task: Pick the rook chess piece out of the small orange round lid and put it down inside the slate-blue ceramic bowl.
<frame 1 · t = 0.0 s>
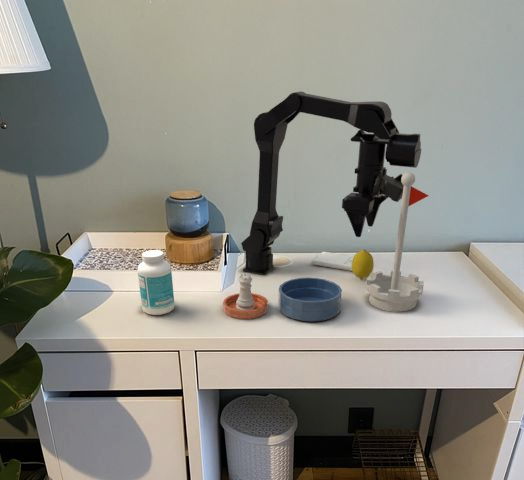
hand: (364, 231, 132), 15 cm above the table, tool pointing down, fingers open, 9 cm apart
hard drive: (339, 264, 154), on the table
orange round lid: (245, 309, 128), on the table
bowl: (309, 309, 129), on the table
rook chess piece: (245, 308, 128), resting on orange round lid
pill bottle: (158, 309, 128), on the table
flag stand: (392, 302, 133), on the table
lemon: (361, 280, 145), on the table
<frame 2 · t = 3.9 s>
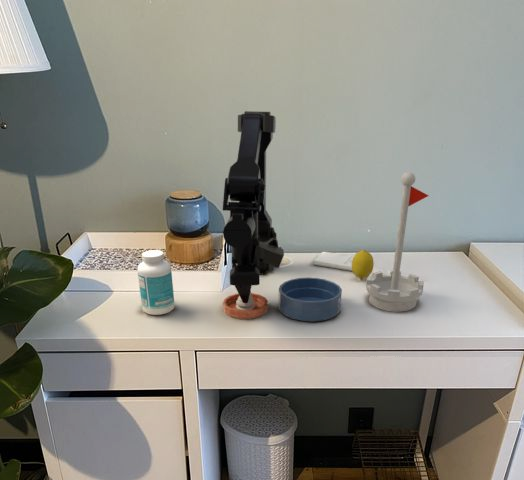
hand: (245, 299, 127), 3 cm above the table, tool pointing down, fingers closed on rook chess piece, 3 cm apart
rook chess piece: (245, 308, 128), resting on orange round lid, touching gripper
everything else where it was.
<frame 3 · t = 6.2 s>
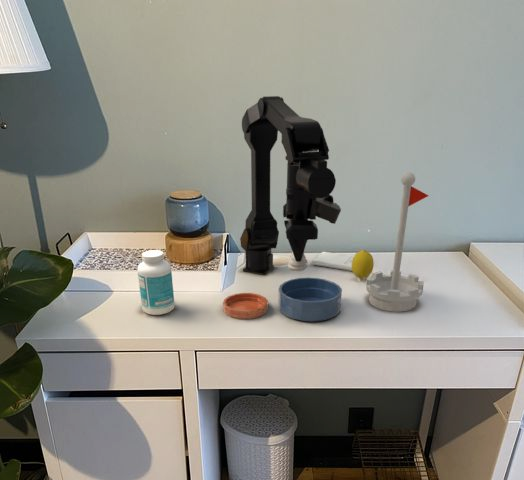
hand: (297, 258, 123), 12 cm above the table, tool pointing down, fingers closed on rook chess piece, 3 cm apart
rook chess piece: (297, 268, 124), point 10 cm above the table, touching gripper
everything else where it was.
when the fingers open (3 cm above the table, at t = 9.0 s): rook chess piece stays where it is, resting on bowl.
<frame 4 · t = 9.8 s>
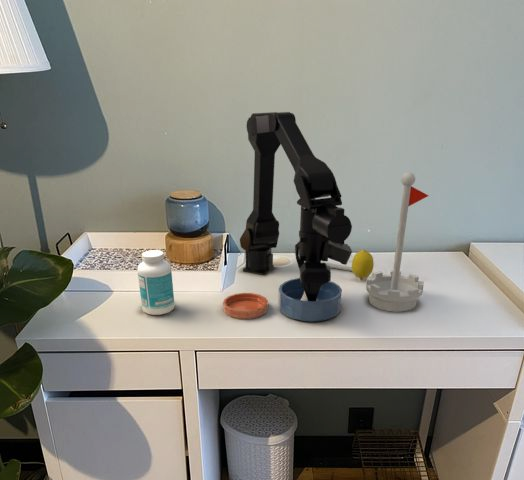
hand: (310, 296, 127), 3 cm above the table, tool pointing down, fingers open, 9 cm apart
rook chess piece: (309, 307, 129), resting on bowl
everything else where it was.
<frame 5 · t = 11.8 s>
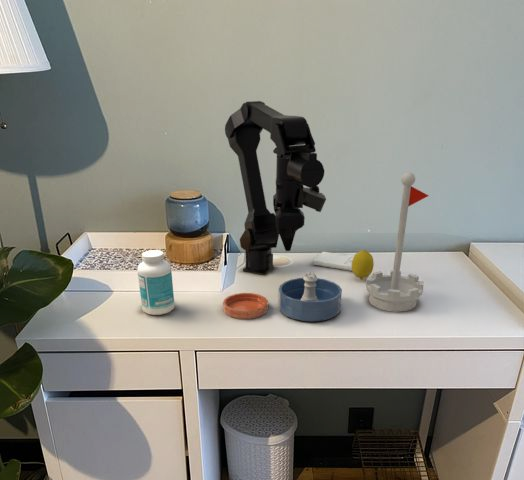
hand: (286, 244, 133), 12 cm above the table, tool pointing down, fingers open, 9 cm apart
nothing on the table moved.
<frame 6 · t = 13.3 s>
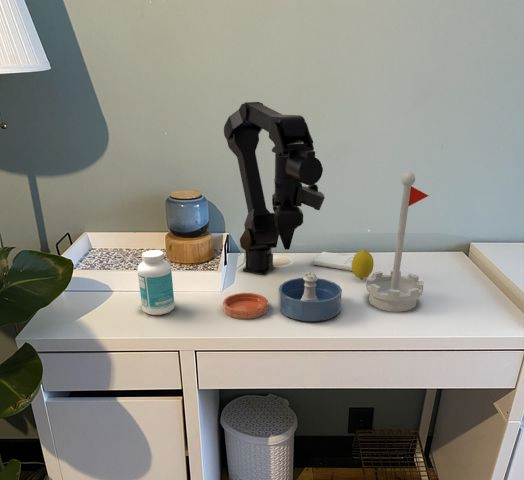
hand: (285, 242, 133), 12 cm above the table, tool pointing down, fingers open, 9 cm apart
nothing on the table moved.
at the end: rook chess piece inside the target area in the bowl (0.1 cm from its centre), point 0.3 cm above the bowl's base; the gripper is holding nothing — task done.
